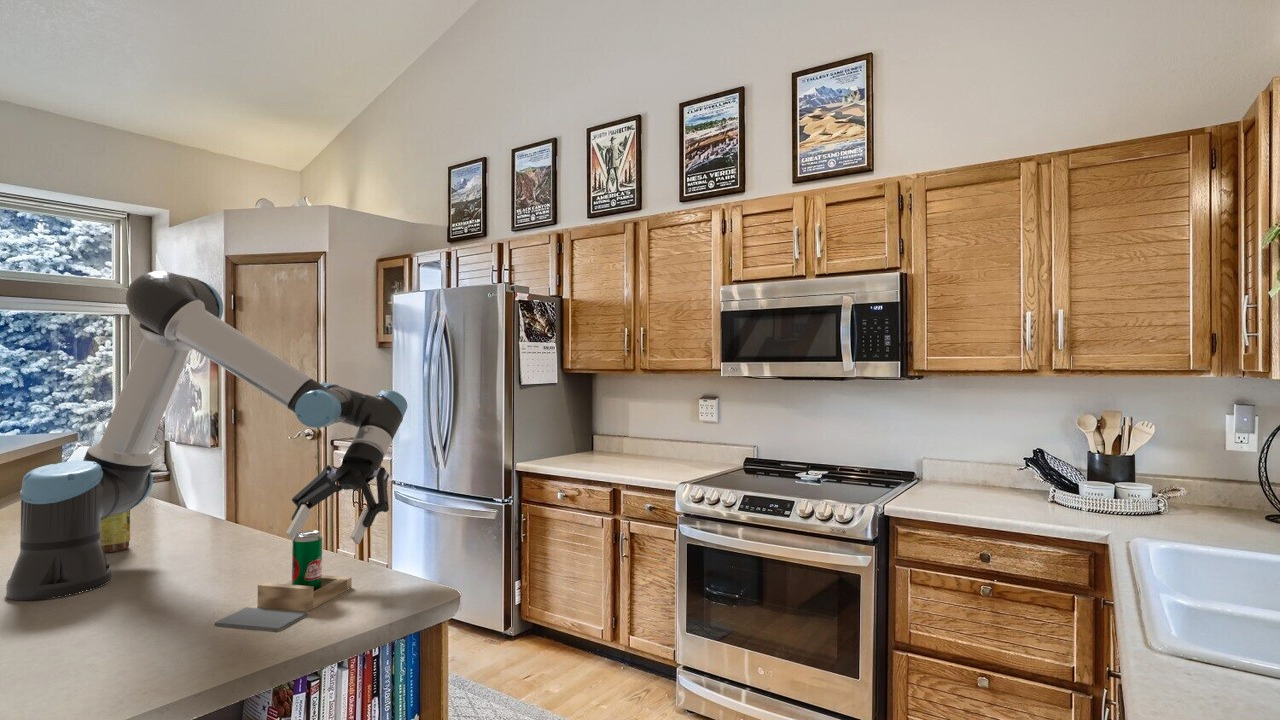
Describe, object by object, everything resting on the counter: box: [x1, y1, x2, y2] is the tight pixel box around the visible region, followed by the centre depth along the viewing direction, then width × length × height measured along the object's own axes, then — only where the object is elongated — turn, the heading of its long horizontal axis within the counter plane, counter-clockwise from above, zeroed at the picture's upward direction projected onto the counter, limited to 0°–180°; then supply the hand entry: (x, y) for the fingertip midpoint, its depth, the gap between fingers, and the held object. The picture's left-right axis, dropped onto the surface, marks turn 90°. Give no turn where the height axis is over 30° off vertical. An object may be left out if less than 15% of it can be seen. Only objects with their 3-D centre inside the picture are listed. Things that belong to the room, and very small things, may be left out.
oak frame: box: [256, 574, 353, 613], centre depth 124 cm, size 10×13×4 cm
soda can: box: [291, 530, 324, 591], centre depth 124 cm, size 5×5×12 cm
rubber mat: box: [214, 606, 308, 632], centre depth 112 cm, size 12×7×1 cm, turn 80°
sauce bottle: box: [100, 510, 131, 554], centre depth 152 cm, size 7×6×20 cm
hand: (322, 538), depth 128 cm, fingers open, 13 cm apart
